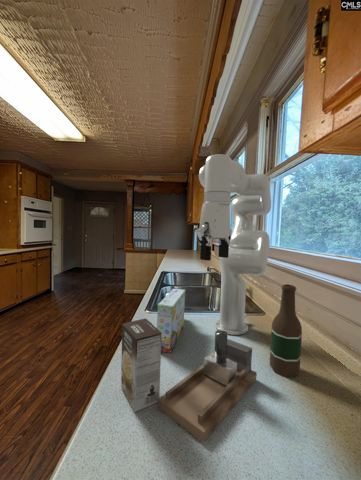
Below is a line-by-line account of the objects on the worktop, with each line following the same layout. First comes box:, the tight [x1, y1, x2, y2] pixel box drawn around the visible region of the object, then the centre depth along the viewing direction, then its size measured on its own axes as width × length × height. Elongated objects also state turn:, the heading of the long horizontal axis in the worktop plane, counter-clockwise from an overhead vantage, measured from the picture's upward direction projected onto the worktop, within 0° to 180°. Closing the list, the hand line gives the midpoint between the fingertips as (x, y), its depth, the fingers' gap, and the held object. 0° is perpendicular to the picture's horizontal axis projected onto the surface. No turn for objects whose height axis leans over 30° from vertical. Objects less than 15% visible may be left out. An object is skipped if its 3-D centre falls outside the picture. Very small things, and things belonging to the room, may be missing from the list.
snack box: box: [156, 288, 186, 354], centre depth 82 cm, size 21×6×15 cm, turn 168°
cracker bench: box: [157, 338, 257, 443], centre depth 55 cm, size 24×12×8 cm, turn 139°
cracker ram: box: [203, 329, 237, 386], centre depth 57 cm, size 4×7×11 cm, turn 49°
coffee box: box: [120, 318, 162, 413], centre depth 53 cm, size 9×6×16 cm
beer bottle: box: [269, 283, 303, 378], centre depth 65 cm, size 8×8×24 cm
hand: (214, 258), depth 68 cm, fingers open, 9 cm apart
